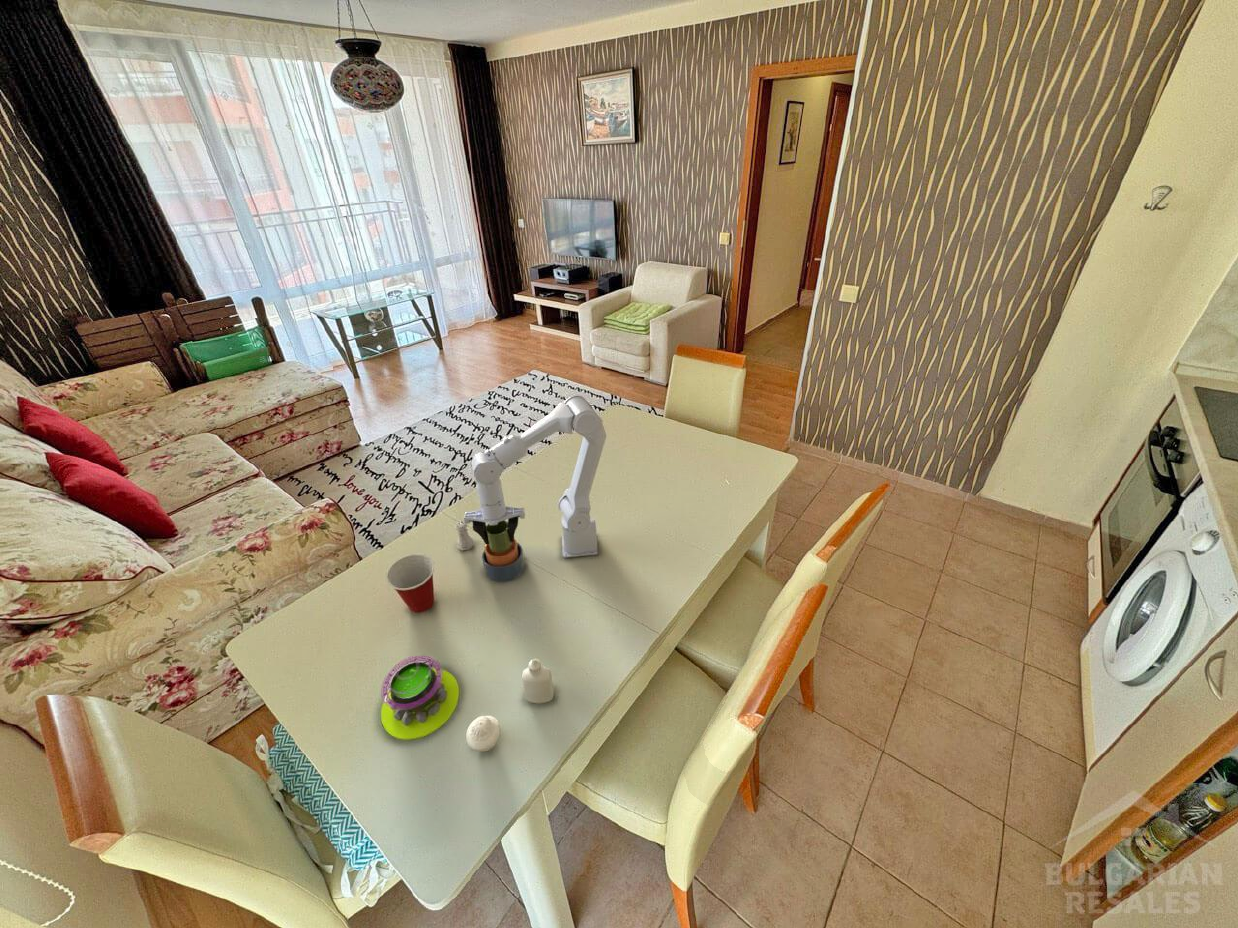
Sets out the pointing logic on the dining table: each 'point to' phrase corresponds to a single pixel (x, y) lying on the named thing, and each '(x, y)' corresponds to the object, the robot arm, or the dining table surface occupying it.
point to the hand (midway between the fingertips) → (499, 540)
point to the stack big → (505, 568)
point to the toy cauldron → (418, 699)
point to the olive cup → (498, 537)
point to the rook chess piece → (463, 536)
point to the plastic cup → (413, 581)
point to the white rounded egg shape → (483, 733)
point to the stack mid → (502, 556)
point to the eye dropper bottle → (537, 683)
